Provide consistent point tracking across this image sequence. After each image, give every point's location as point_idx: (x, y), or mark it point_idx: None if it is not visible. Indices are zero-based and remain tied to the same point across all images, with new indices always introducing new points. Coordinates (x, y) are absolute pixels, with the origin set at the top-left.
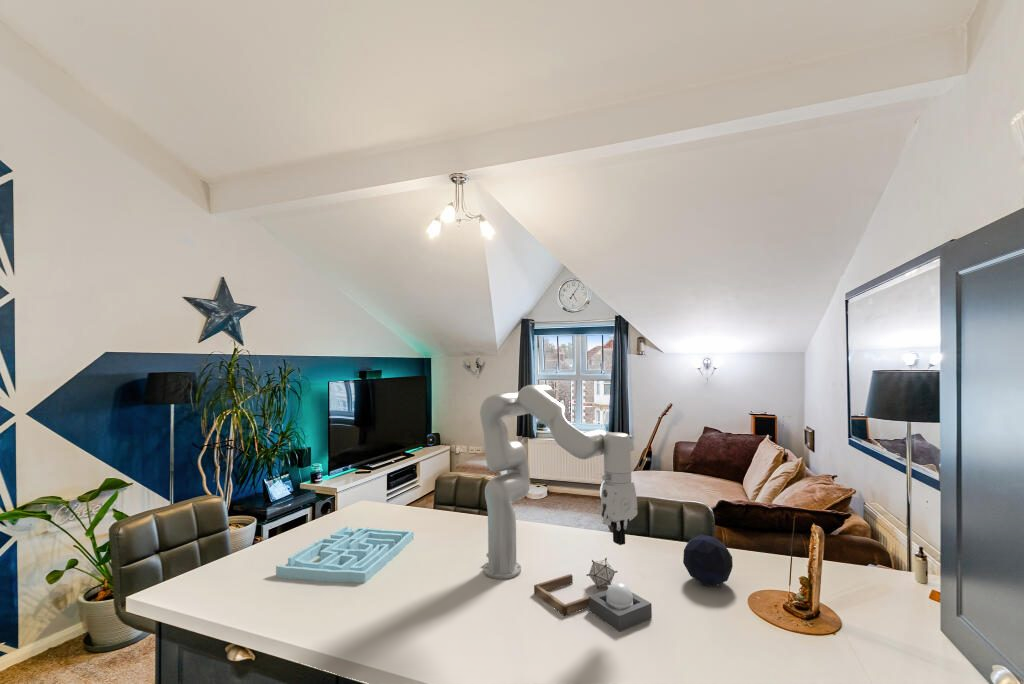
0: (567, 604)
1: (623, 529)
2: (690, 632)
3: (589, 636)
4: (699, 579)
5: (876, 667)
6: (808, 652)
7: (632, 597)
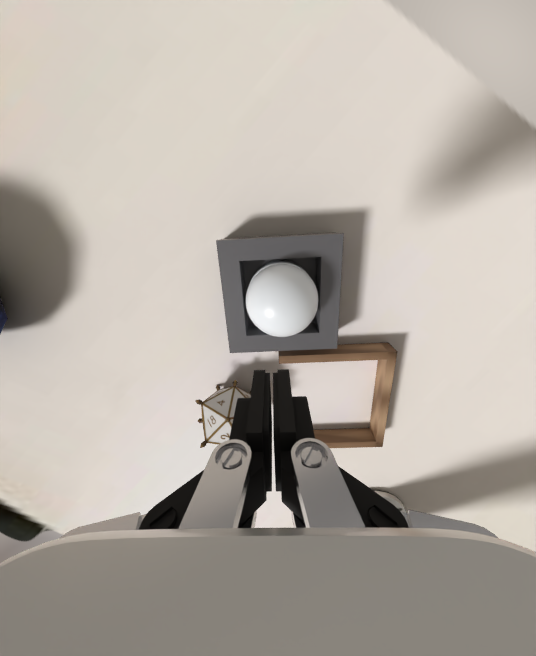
0: (382, 356)
1: (250, 444)
2: (176, 132)
3: (403, 253)
4: None
5: None
6: None
7: (259, 273)
